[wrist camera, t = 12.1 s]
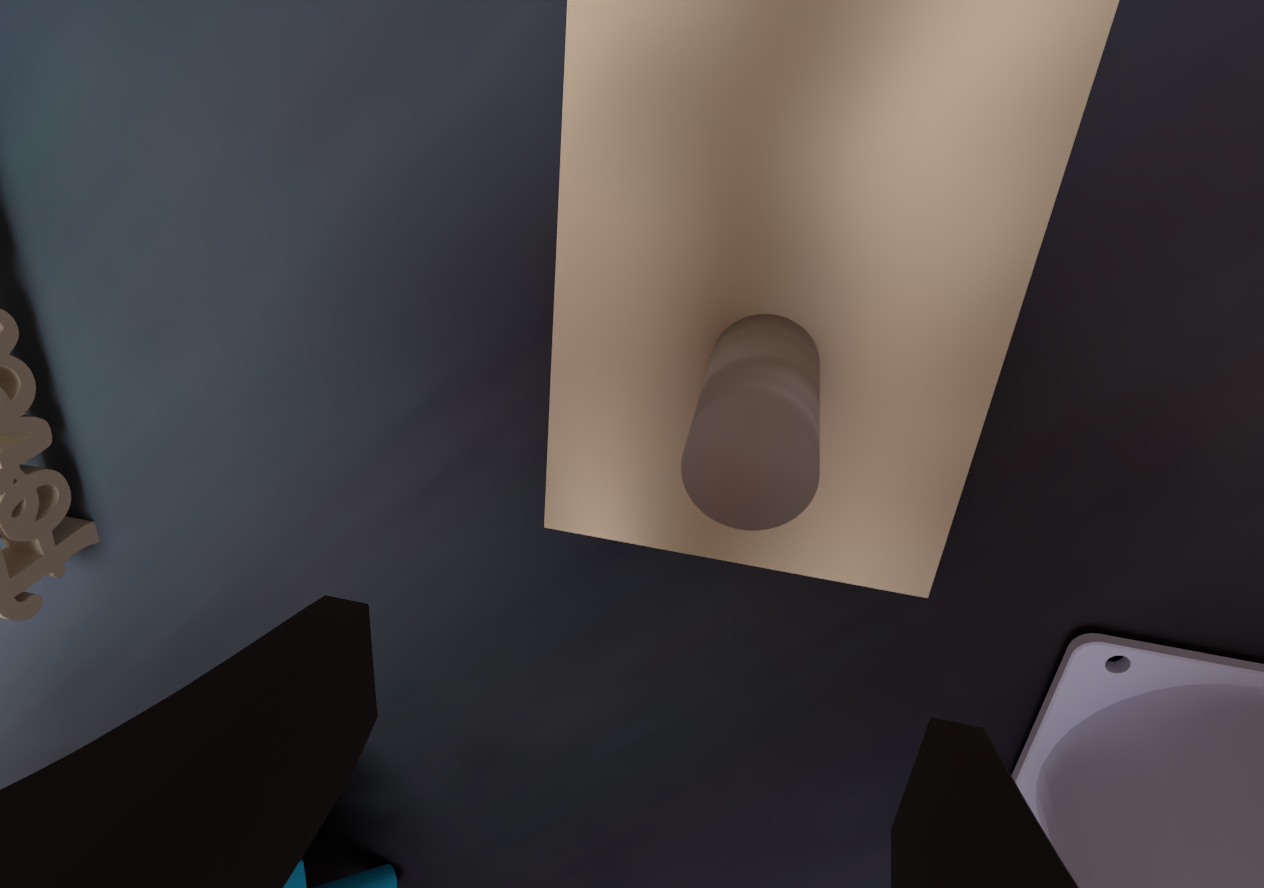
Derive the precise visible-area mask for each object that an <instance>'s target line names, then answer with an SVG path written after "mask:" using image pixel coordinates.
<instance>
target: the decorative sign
mask: <svg viewBox="0 0 1264 888" xmlns="http://www.w3.org/2000/svg"><path fill="white" fill-rule="evenodd" d="M18 338H19V330H18V326H17V324H16V322H15V320H14V319H13V317H12V316H11V315H10V314H9V313H7V312H6V311H4V310H2V309H0V538H2V540H3V542H4V544H5V547H6V548H5V549H3V550H2V551H1V548H0V618H5V619H10V620H15V621H20V620H26V619H29V618H31V617H33V616H34V615H35V614H36V613H37V612H38V611H39V610H40V608H41V606H42V604H43V600H42V597H41V596H40V595H38V594H33V593H28V592H23V591H24V590H26V589H27V588H29V587H30V586H31V585H33V584H34V583H35V582H37V581H38V580H39V579H41V578H42V577H43V576H45V575H46V576H51V577H56V578H59V577H61V576H62V575H63V574H64V572H65V566H64V565H63V562H64V561H65V560H67V559H68V558H70V557H71V556H73V555H74V554H75V553H77V552H78V551H80V550H82V549H83V548H85V547H87V546H88V545H92V544H96V543H98V542H99V541H100V540H99V537H98V533H97V529H96V526H95V522H92V521H87V520H82V519H77V518H71V517H66V516H65V515H66V513H67V511H68V509H69V507H70V503H71V491H70V488H69V485H68V483H67V481H66V479H65V478H64V477H63V475H62V474H60V473H59V472H57V471H54V470H50V469H44V468H39V467H33V466H28V465H23V463H25V462H26V461H28V460H30V459H31V458H33V457H35V456H36V455H38V454H39V453H41V452H42V451H44V450H45V449H46V448H48V447H49V446H50V445H51V443H52V433H51V429H50V426H49V424H48V423H47V422H46V421H45V420H44V419H41V418H38V417H33V416H27V415H24V414H25V412H26V411H27V410H28V409H29V408H30V406H31V404H32V402H33V400H34V397H35V394H36V383H35V379H34V377H33V374H32V372H31V370H30V369H29V367H28V366H27V365H26V364H25V363H24V362H22V361H21V360H20V359H18V358H16V357H14V356H11V355H9V354H10V352H11V351H12V349H13V348H14V347H15V345H16V343H17V341H18Z"/></svg>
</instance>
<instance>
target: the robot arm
mask: <svg viewBox="0 0 1264 888" xmlns="http://www.w3.org/2000/svg"><path fill="white" fill-rule="evenodd" d="M1113 656H1124V657H1123V658H1122V659H1120V660H1118V661H1115V662H1108V661H1107V660H1108V659H1109V658H1111V657H1113ZM376 719H377V706H376V694H375V681H374V668H373V656H372V643H371V631H370V618H369V606H368V604H365V603H361V602H356V601H351V600H346V599H341V598H336V597H331V596H326V595H325V596H323V597H322V598H320V599H319V600H317V601H315V602H314V603H312V604H311V605H309V606H308V607H306V608H305V609H303V610H301V611H300V612H298V613H297V614H295V615H294V616H292V617H291V618H289V619H288V620H286V621H285V622H283V623H282V624H280V625H279V626H277V627H276V628H274V629H273V630H271V631H270V632H268V633H267V634H265V635H264V636H262V637H261V638H259V639H258V640H256V641H255V642H253V643H252V644H250V645H249V646H247V647H246V648H244V649H243V650H241V651H239V652H238V653H236V654H235V655H233V656H232V657H230V658H229V659H227V660H226V661H224V662H223V663H221V664H219V665H218V666H216V667H215V668H213V669H212V670H210V671H209V672H207V673H205V674H204V675H202V676H201V677H199V678H198V679H196V680H194V681H193V682H191V683H190V684H188V685H187V686H185V687H184V688H182V689H180V690H179V691H177V692H176V693H174V694H172V695H171V696H169V697H167V698H166V699H164V700H162V701H161V702H159V703H157V704H155V705H154V706H152V707H150V708H149V709H147V710H145V711H144V712H142V713H140V714H139V715H137V716H135V717H133V718H132V719H130V720H128V721H127V722H125V723H123V724H122V725H120V726H118V727H116V728H115V729H113V730H111V731H110V732H108V733H106V734H105V735H103V736H101V737H99V738H98V739H96V740H94V741H93V742H91V743H89V744H87V745H86V746H84V747H82V748H80V749H78V750H77V751H75V752H73V753H71V754H69V755H67V756H66V757H64V758H62V759H60V760H58V761H56V762H54V763H52V764H50V765H49V766H47V767H45V768H43V769H41V770H39V771H37V772H35V773H33V774H31V775H29V776H27V777H25V778H23V779H21V780H19V781H17V782H15V783H13V784H11V785H9V786H7V787H5V788H3V789H1V790H0V888H283V887H284V886H285V884H286V883H287V881H288V879H289V878H290V876H291V875H292V873H293V871H294V870H295V868H296V867H297V865H298V863H299V862H300V860H301V859H302V857H303V855H304V854H305V852H306V851H307V849H308V847H309V846H310V844H311V842H312V841H313V839H314V838H315V836H316V834H317V833H318V831H319V829H320V828H321V826H322V825H323V823H324V821H325V820H326V818H327V816H328V815H329V813H330V811H331V810H332V808H333V807H334V805H335V803H336V802H337V800H338V798H339V797H340V795H341V793H342V792H343V790H344V788H345V786H346V784H347V782H348V780H349V778H350V776H351V773H352V771H353V769H354V767H355V765H356V763H357V761H358V759H359V757H360V755H361V752H362V750H363V748H364V746H365V744H366V741H367V739H368V737H369V735H370V732H371V730H372V728H373V726H374V723H375V721H376ZM891 888H1264V664H1260V663H1255V662H1250V661H1244V660H1239V659H1233V658H1228V657H1222V656H1217V655H1212V654H1206V653H1201V652H1195V651H1190V650H1185V649H1179V648H1174V647H1168V646H1163V645H1158V644H1152V643H1147V642H1141V641H1136V640H1131V639H1125V638H1120V637H1114V636H1109V635H1104V634H1098V633H1087V634H1083V635H1080V636H1078V637H1076V638H1075V639H1073V640H1072V641H1071V643H1070V644H1069V645H1068V647H1067V650H1066V652H1065V654H1064V656H1063V659H1062V661H1061V663H1060V666H1059V668H1058V670H1057V673H1056V675H1055V677H1054V679H1053V682H1052V684H1051V686H1050V689H1049V691H1048V693H1047V695H1046V698H1045V700H1044V702H1043V705H1042V707H1041V709H1040V712H1039V714H1038V716H1037V718H1036V721H1035V723H1034V725H1033V728H1032V730H1031V732H1030V735H1029V737H1028V739H1027V741H1026V744H1025V746H1024V748H1023V751H1022V753H1021V755H1020V757H1019V760H1018V762H1017V764H1016V767H1015V769H1014V771H1013V774H1012V776H1011V774H1010V772H1009V771H1008V769H1007V767H1006V765H1005V764H1004V762H1003V760H1002V758H1001V756H1000V755H999V753H998V751H997V749H996V748H995V746H994V744H993V742H992V741H991V739H990V737H989V736H988V734H987V733H986V731H985V730H984V729H983V728H981V727H976V726H971V725H966V724H961V723H956V722H951V721H946V720H941V719H936V718H930V721H929V724H928V727H927V729H926V732H925V735H924V738H923V741H922V744H921V746H920V749H919V752H918V755H917V758H916V761H915V763H914V766H913V769H912V772H911V775H910V778H909V780H908V783H907V786H906V789H905V792H904V795H903V797H902V800H901V803H900V806H899V809H898V812H897V814H896V817H895V820H894V823H893V826H892V829H891Z"/></svg>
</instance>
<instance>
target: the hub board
mask: <svg viewBox="0 0 1264 888" xmlns="http://www.w3.org/2000/svg"><path fill="white" fill-rule="evenodd" d="M1118 3H1119V0H567V20H566V42H565V65H564V88H563V110H562V133H561V156H560V178H559V201H558V224H557V247H556V269H555V292H554V315H553V337H552V360H551V383H550V405H549V428H548V451H547V474H546V496H545V519H544V527H545V528H550V529H555V530H561V531H566V532H572V533H577V534H583V535H588V536H593V537H599V538H604V539H610V540H615V541H620V542H626V543H631V544H637V545H642V546H648V547H653V548H658V549H664V550H669V551H675V552H680V553H686V554H691V555H696V556H702V557H707V558H713V559H718V560H723V561H729V562H734V563H740V564H745V565H751V566H756V567H761V568H767V569H772V570H778V571H783V572H789V573H794V574H799V575H805V576H810V577H816V578H821V579H826V580H832V581H837V582H843V583H848V584H854V585H859V586H864V587H870V588H875V589H881V590H886V591H891V592H897V593H902V594H908V595H913V596H919V597H924V598H928V596H929V593H930V590H931V586H932V583H933V580H934V577H935V574H936V571H937V568H938V565H939V562H940V558H941V555H942V552H943V549H944V546H945V543H946V540H947V537H948V533H949V530H950V527H951V524H952V521H953V518H954V515H955V512H956V508H957V505H958V502H959V499H960V496H961V493H962V490H963V487H964V484H965V480H966V477H967V474H968V471H969V468H970V465H971V462H972V459H973V455H974V452H975V449H976V446H977V443H978V440H979V437H980V434H981V430H982V427H983V424H984V421H985V418H986V415H987V412H988V409H989V405H990V402H991V399H992V396H993V393H994V390H995V387H996V384H997V381H998V377H999V374H1000V371H1001V368H1002V365H1003V362H1004V359H1005V356H1006V352H1007V349H1008V346H1009V343H1010V340H1011V337H1012V334H1013V331H1014V327H1015V324H1016V321H1017V318H1018V315H1019V312H1020V309H1021V306H1022V303H1023V299H1024V296H1025V293H1026V290H1027V287H1028V284H1029V281H1030V278H1031V274H1032V271H1033V268H1034V265H1035V262H1036V259H1037V256H1038V253H1039V249H1040V246H1041V243H1042V240H1043V237H1044V234H1045V231H1046V228H1047V225H1048V221H1049V218H1050V215H1051V212H1052V209H1053V206H1054V203H1055V200H1056V196H1057V193H1058V190H1059V187H1060V184H1061V181H1062V178H1063V175H1064V171H1065V168H1066V165H1067V162H1068V159H1069V156H1070V153H1071V150H1072V147H1073V143H1074V140H1075V137H1076V134H1077V131H1078V128H1079V125H1080V122H1081V118H1082V115H1083V112H1084V109H1085V106H1086V103H1087V100H1088V97H1089V93H1090V90H1091V87H1092V84H1093V81H1094V78H1095V75H1096V72H1097V69H1098V65H1099V62H1100V59H1101V56H1102V53H1103V50H1104V47H1105V44H1106V40H1107V37H1108V34H1109V31H1110V28H1111V25H1112V22H1113V19H1114V15H1115V12H1116V9H1117V6H1118Z"/></svg>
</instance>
